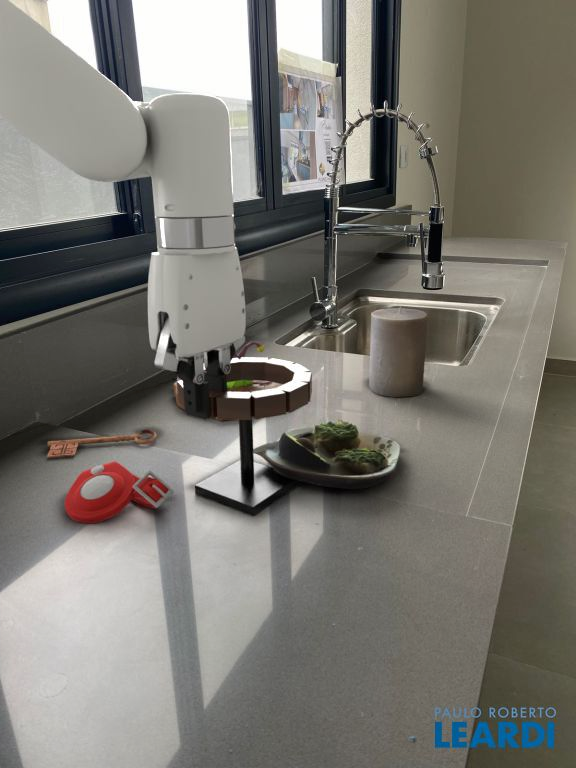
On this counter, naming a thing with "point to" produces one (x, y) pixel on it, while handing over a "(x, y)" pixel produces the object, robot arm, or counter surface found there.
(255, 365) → the ring
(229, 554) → the counter surface
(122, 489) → the tracker holder
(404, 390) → the pillar candle
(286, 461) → the salad plate
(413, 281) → the counter surface
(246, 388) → the plant
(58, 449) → the key
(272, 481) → the stand
